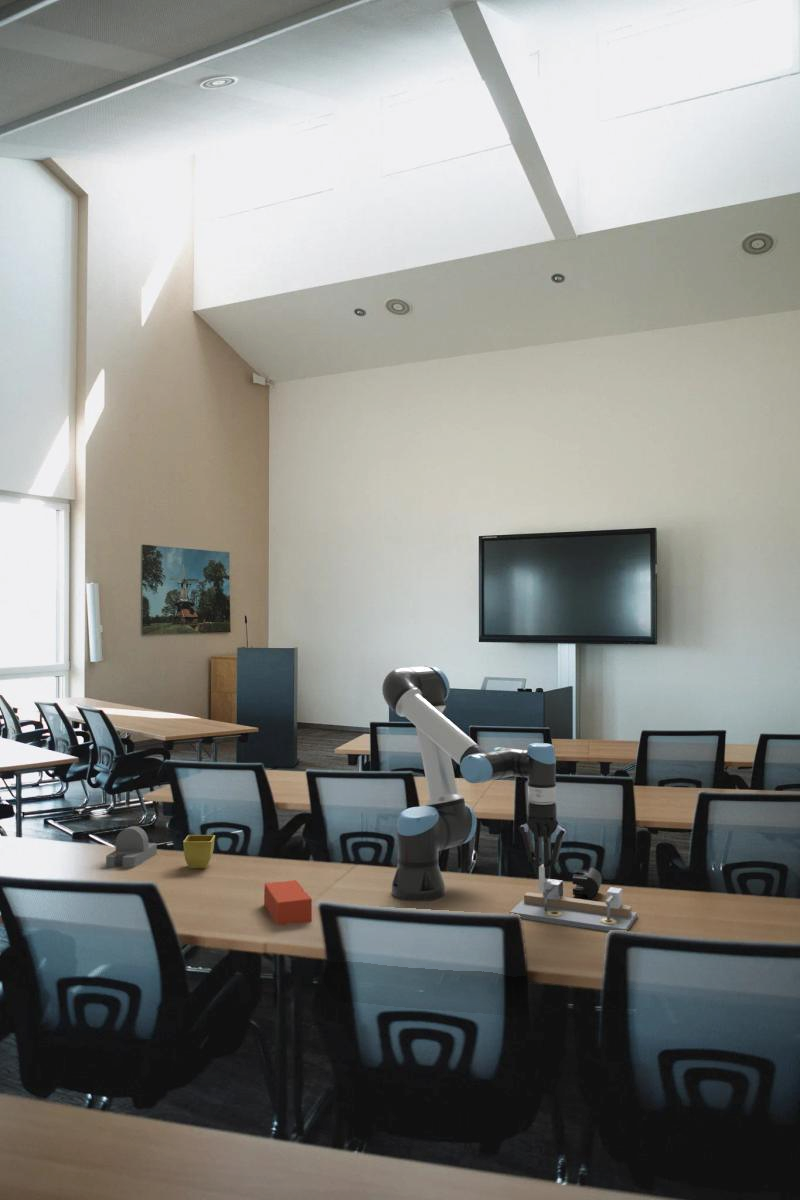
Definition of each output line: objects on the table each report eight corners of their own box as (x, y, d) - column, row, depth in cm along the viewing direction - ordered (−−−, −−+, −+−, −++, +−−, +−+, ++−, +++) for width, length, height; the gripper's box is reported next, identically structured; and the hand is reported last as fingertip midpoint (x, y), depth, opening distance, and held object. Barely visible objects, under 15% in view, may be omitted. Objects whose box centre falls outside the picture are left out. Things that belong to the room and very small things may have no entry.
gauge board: (509, 916, 230) (509, 888, 230) (526, 901, 242) (526, 874, 243) (625, 933, 217) (625, 904, 217) (637, 916, 229) (636, 888, 229)
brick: (264, 905, 241) (264, 883, 241) (296, 901, 244) (296, 879, 244) (277, 926, 224) (277, 902, 224) (312, 922, 227) (312, 898, 227)
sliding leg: (537, 910, 229) (536, 889, 229) (548, 899, 238) (548, 878, 238) (552, 913, 227) (551, 891, 227) (563, 901, 237) (562, 880, 237)
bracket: (157, 854, 295) (157, 821, 295) (133, 869, 277) (133, 834, 277) (130, 853, 296) (130, 820, 296) (104, 867, 278) (104, 833, 279)
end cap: (598, 902, 241) (598, 877, 241) (572, 900, 243) (572, 875, 243) (602, 892, 251) (601, 868, 251) (576, 890, 253) (576, 866, 253)
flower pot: (215, 862, 283) (215, 834, 283) (211, 870, 274) (211, 841, 274) (187, 863, 282) (187, 835, 283) (182, 870, 274) (182, 841, 274)
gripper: (514, 802, 237) (515, 890, 236) (561, 806, 231) (563, 897, 230) (523, 797, 244) (524, 883, 243) (569, 801, 238) (570, 889, 237)
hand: (543, 889), depth 237 cm, fingers closed
